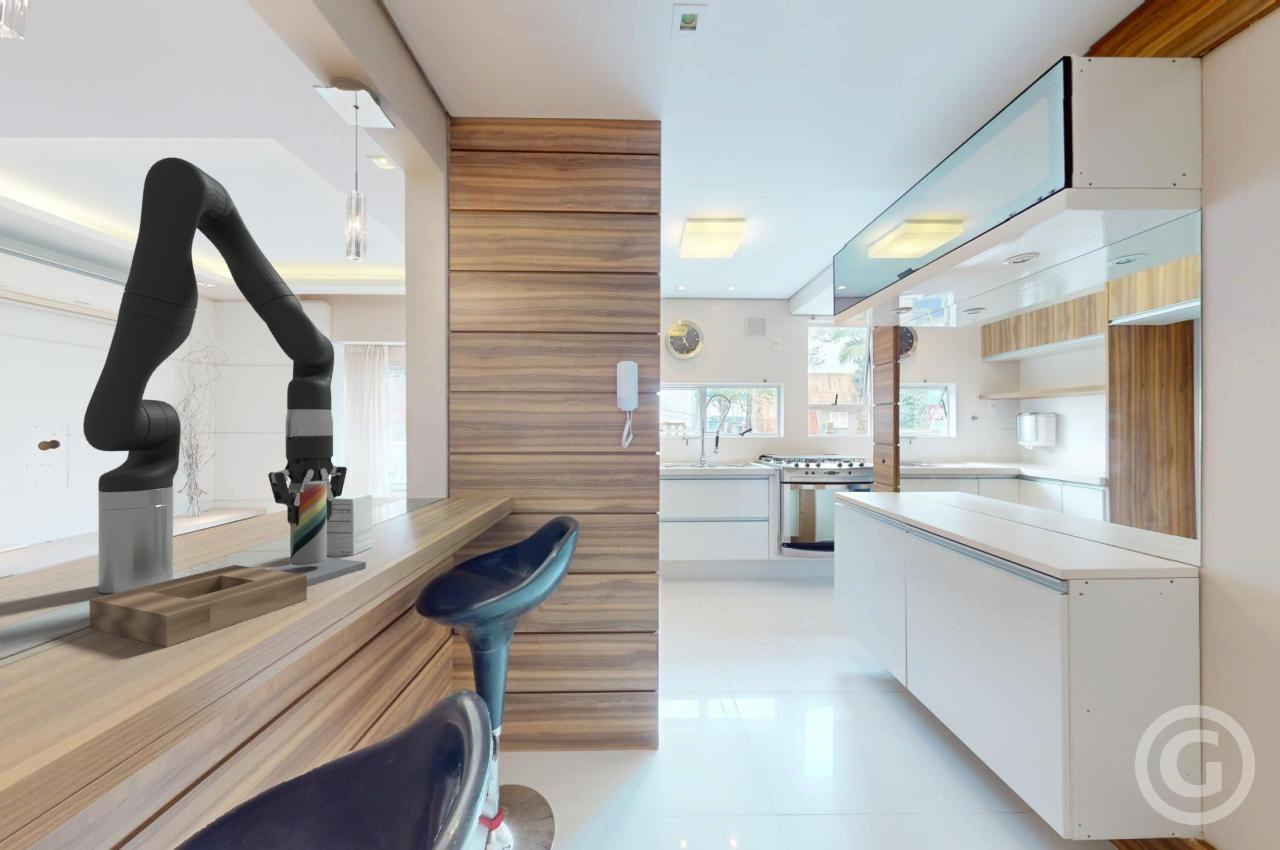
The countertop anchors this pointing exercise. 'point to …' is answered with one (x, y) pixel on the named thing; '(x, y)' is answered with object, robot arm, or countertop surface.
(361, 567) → the rubber mat
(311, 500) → the lotion bottle
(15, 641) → the countertop surface
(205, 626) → the block
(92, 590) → the countertop surface
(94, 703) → the countertop surface
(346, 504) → the supplement box
